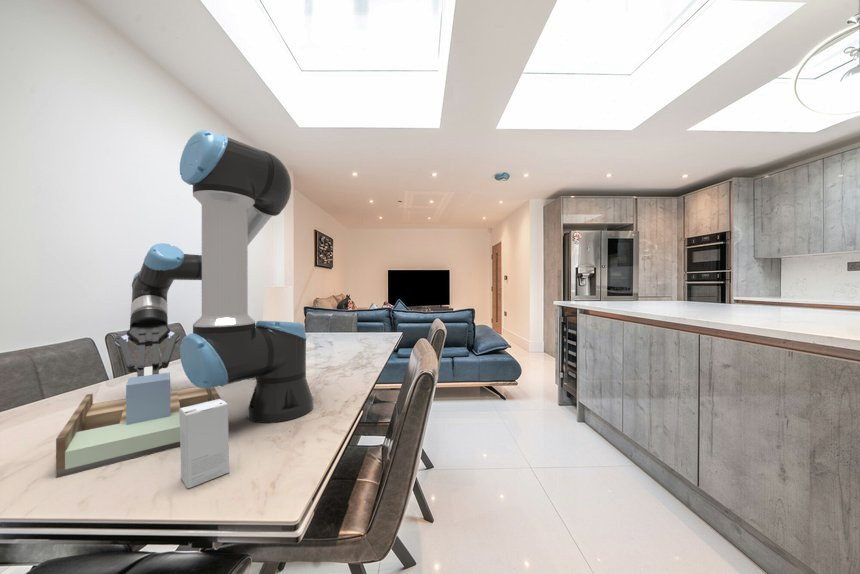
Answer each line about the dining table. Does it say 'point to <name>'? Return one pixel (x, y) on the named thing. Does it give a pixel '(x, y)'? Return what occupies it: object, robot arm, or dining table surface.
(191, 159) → the robot arm
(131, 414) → the slate block
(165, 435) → the pad
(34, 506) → the dining table surface
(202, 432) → the skincare box
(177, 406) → the box
